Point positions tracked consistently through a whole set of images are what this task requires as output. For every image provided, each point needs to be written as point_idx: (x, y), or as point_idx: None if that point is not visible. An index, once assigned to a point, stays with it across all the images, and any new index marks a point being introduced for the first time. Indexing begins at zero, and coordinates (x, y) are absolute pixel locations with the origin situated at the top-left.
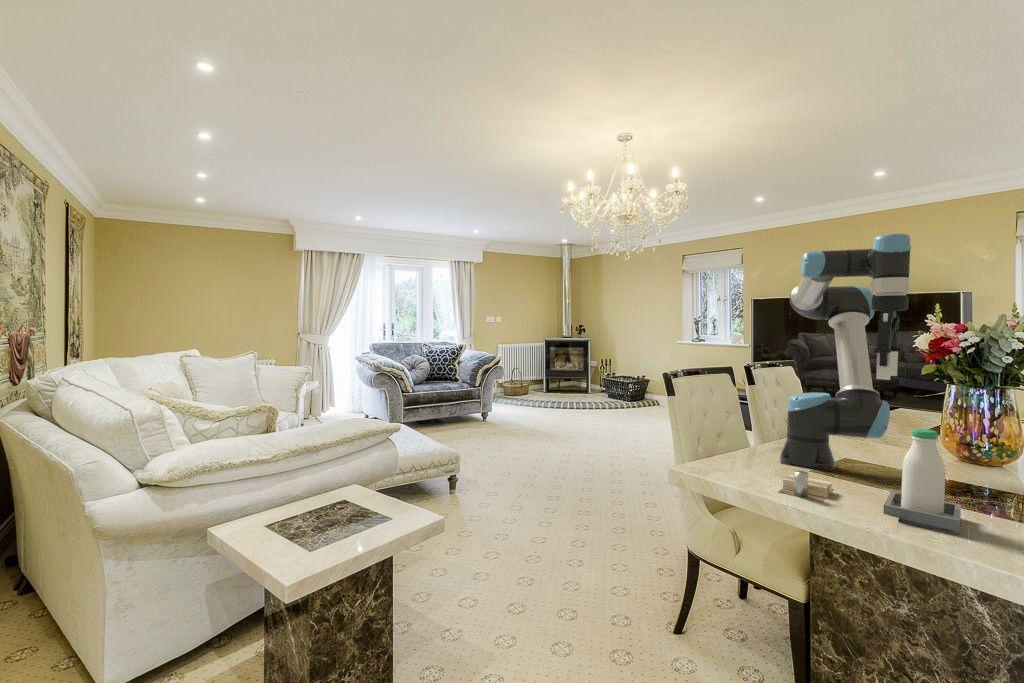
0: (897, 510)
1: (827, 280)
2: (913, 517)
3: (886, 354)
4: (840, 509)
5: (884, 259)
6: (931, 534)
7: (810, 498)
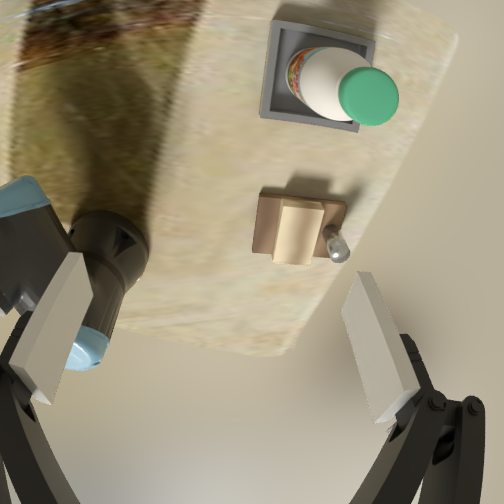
0: None
1: None
2: None
3: (434, 389)
4: (341, 179)
5: None
6: None
7: (337, 220)
